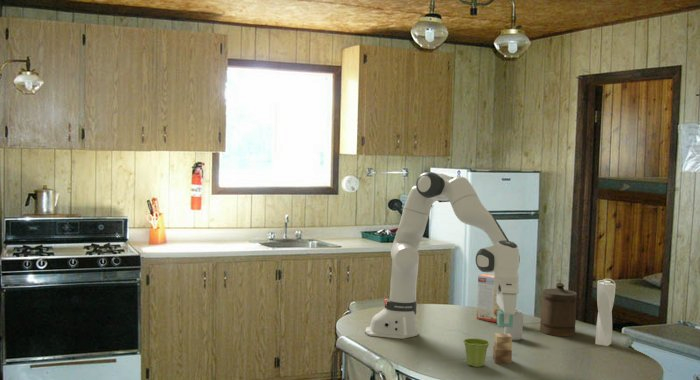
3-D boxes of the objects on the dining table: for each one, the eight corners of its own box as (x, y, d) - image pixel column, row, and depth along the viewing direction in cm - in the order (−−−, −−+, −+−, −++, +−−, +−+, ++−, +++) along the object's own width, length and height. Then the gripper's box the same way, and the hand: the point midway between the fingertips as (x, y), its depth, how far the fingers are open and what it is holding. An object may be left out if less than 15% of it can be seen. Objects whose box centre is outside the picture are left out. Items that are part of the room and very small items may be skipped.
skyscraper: (610, 347, 301) (613, 279, 299) (591, 344, 305) (595, 277, 303) (614, 343, 308) (618, 277, 306) (596, 340, 312) (600, 275, 310)
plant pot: (459, 360, 274) (460, 337, 274) (484, 361, 275) (485, 338, 275) (465, 368, 265) (467, 344, 264) (491, 368, 266) (492, 345, 265)
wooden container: (580, 332, 324) (583, 283, 323) (565, 338, 313) (568, 287, 312) (549, 326, 334) (552, 278, 333) (533, 331, 323) (536, 282, 322)
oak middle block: (496, 349, 273) (497, 336, 272) (494, 346, 278) (494, 333, 278) (511, 350, 272) (512, 337, 272) (509, 346, 278) (509, 333, 278)
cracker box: (509, 322, 340) (511, 277, 339) (502, 324, 335) (504, 279, 334) (482, 317, 349) (484, 273, 348) (475, 318, 344) (477, 274, 343)
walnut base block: (495, 363, 273) (495, 350, 272) (492, 358, 279) (493, 345, 278) (511, 364, 272) (511, 350, 272) (508, 359, 278) (509, 346, 278)
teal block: (499, 326, 272) (499, 313, 272) (496, 323, 277) (497, 310, 277) (512, 327, 272) (513, 314, 272) (510, 324, 277) (510, 310, 277)
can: (522, 341, 306) (523, 313, 305) (503, 340, 307) (505, 311, 306) (521, 337, 313) (523, 309, 312) (503, 335, 314) (505, 308, 314)
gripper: (493, 279, 284) (491, 314, 285) (501, 289, 264) (500, 327, 265) (509, 280, 284) (508, 315, 285) (519, 290, 264) (518, 328, 265)
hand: (504, 321), depth 275 cm, fingers closed on teal block, 5 cm apart
